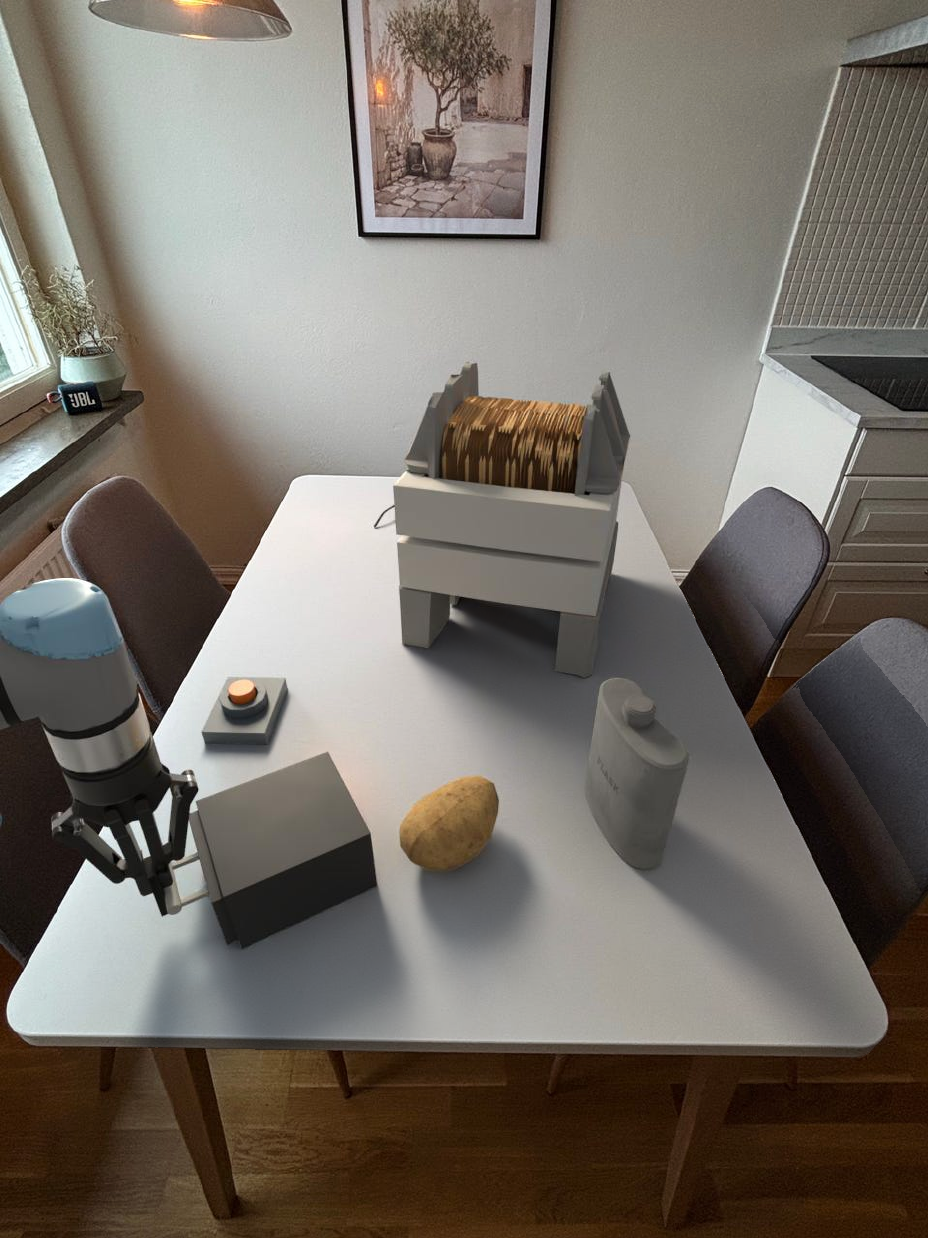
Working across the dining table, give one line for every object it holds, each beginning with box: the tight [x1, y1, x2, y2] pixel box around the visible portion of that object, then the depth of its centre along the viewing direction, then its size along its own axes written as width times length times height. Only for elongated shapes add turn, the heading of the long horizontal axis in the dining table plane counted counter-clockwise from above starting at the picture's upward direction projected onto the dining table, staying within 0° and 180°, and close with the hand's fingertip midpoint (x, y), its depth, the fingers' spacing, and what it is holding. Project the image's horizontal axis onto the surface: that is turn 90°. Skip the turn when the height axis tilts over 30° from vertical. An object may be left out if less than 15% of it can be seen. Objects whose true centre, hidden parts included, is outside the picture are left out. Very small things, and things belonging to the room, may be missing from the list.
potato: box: [398, 775, 500, 873], centre depth 81 cm, size 10×14×8 cm
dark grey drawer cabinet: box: [195, 751, 378, 950], centre depth 77 cm, size 16×14×10 cm
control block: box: [200, 676, 288, 745], centre depth 101 cm, size 12×9×4 cm
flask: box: [584, 677, 690, 870], centre depth 80 cm, size 15×6×20 cm, turn 17°
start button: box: [229, 680, 256, 704], centre depth 99 cm, size 4×4×2 cm
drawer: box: [163, 809, 239, 946], centre depth 76 cm, size 19×12×8 cm, turn 119°
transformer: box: [392, 361, 631, 678], centre depth 113 cm, size 34×33×41 cm
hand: (164, 904), depth 73 cm, fingers closed
